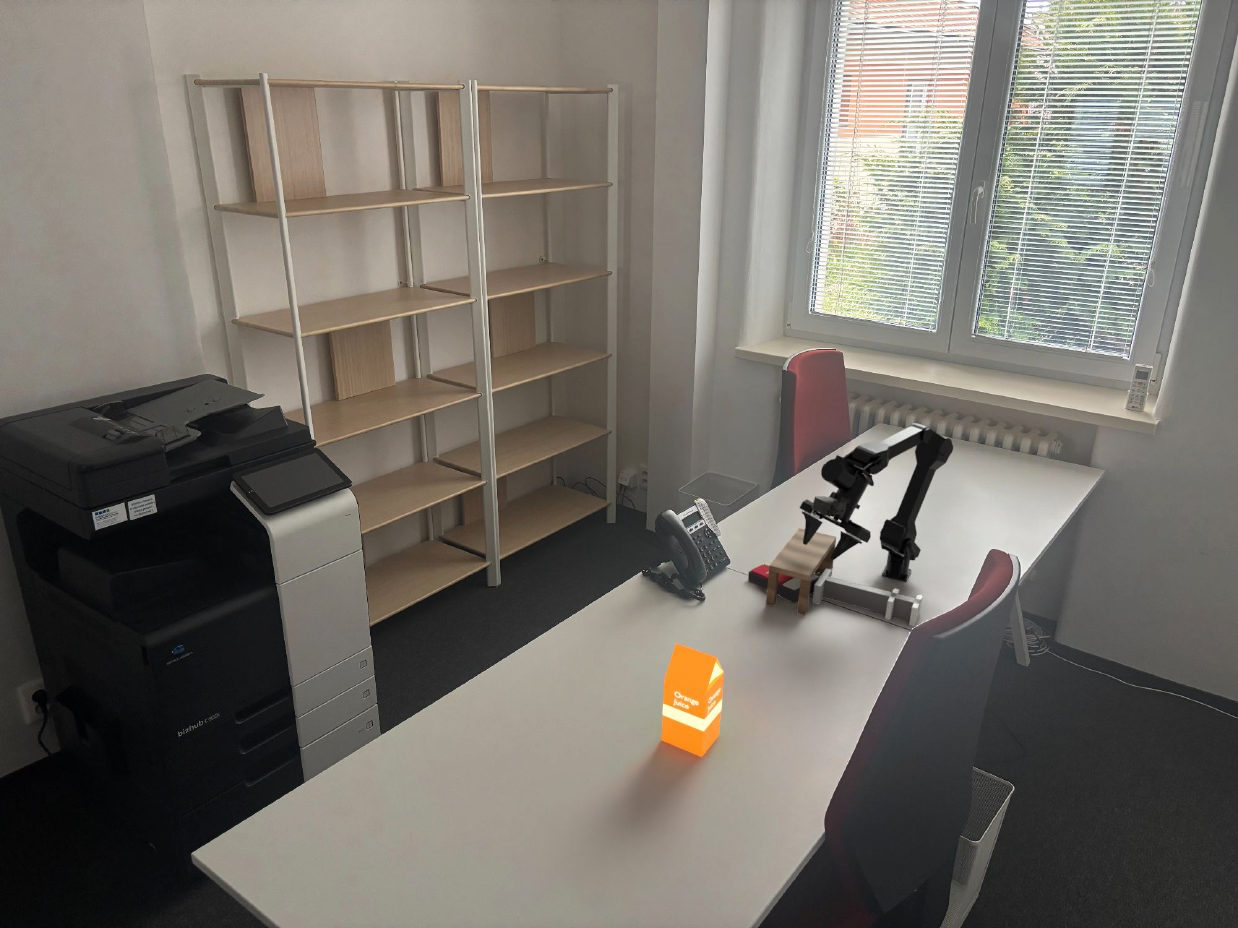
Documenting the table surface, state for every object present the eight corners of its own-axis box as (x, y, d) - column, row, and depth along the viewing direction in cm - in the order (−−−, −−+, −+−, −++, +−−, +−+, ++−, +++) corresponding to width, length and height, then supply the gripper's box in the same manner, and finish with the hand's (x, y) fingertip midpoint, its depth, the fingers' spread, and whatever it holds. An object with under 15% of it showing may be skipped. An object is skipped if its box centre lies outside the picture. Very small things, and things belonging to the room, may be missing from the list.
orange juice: (701, 757, 163) (707, 668, 156) (660, 740, 168) (664, 652, 160) (719, 734, 170) (726, 647, 162) (680, 718, 174) (684, 633, 167)
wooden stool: (795, 564, 235) (799, 528, 231) (831, 574, 231) (836, 536, 227) (765, 604, 216) (769, 565, 212) (804, 615, 211) (809, 575, 207)
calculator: (774, 556, 233) (821, 574, 222) (773, 570, 234) (820, 589, 224) (747, 569, 226) (794, 588, 215) (747, 584, 227) (794, 604, 217)
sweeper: (824, 585, 225) (826, 568, 224) (921, 610, 215) (924, 592, 213) (812, 602, 217) (814, 584, 215) (912, 629, 206) (915, 611, 205)
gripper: (802, 471, 212) (772, 527, 212) (860, 497, 198) (828, 558, 198) (827, 486, 219) (797, 540, 220) (885, 512, 205) (853, 571, 205)
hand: (817, 551), depth 210 cm, fingers open, 9 cm apart
